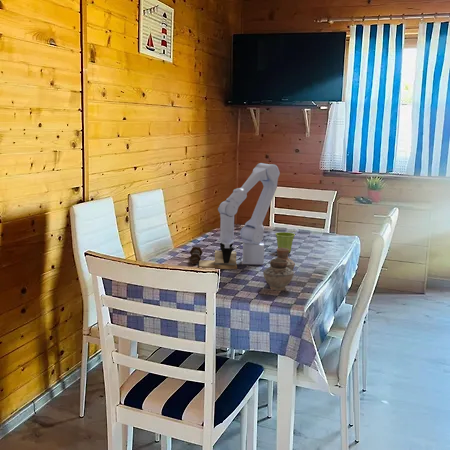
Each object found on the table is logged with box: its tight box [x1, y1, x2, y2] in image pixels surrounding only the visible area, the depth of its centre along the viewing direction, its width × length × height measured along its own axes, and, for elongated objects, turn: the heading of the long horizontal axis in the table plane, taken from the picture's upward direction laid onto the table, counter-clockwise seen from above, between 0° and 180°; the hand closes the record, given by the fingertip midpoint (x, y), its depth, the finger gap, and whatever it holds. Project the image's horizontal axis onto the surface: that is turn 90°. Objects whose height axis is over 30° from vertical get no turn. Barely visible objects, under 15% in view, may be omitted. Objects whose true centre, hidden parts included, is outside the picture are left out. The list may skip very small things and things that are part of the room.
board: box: [198, 259, 238, 270], centre depth 233 cm, size 16×10×1 cm, turn 92°
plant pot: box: [274, 231, 296, 253], centre depth 263 cm, size 9×9×9 cm
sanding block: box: [214, 250, 237, 265], centre depth 233 cm, size 9×5×5 cm, turn 91°
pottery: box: [262, 247, 296, 292], centre depth 209 cm, size 11×25×12 cm, turn 169°
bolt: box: [189, 246, 204, 265], centre depth 240 cm, size 6×5×15 cm
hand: (226, 261), depth 233 cm, fingers closed on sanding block, 5 cm apart
